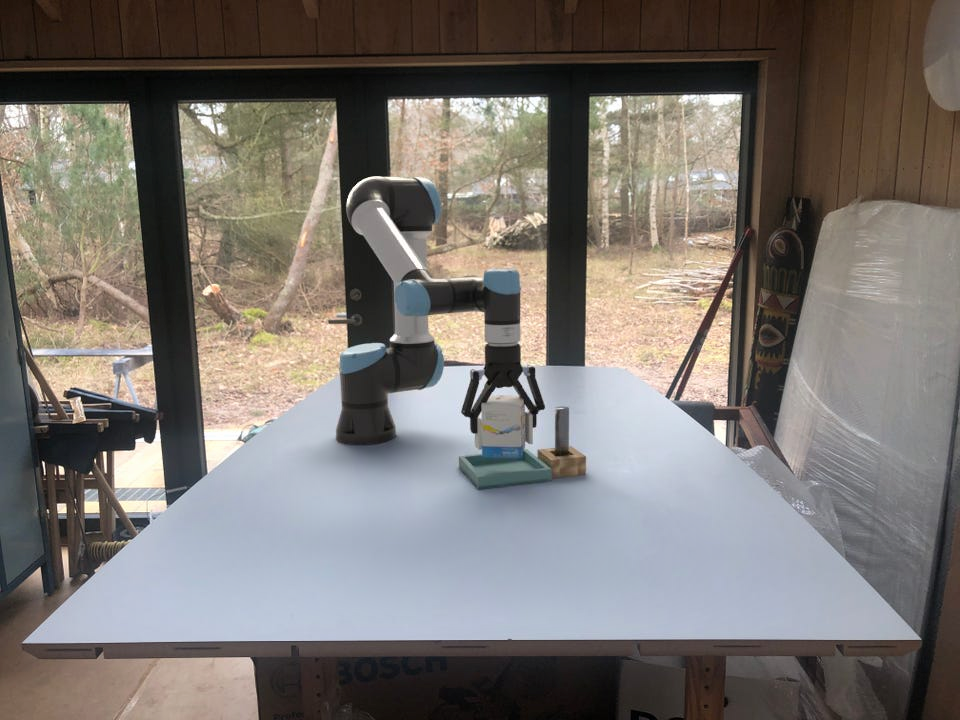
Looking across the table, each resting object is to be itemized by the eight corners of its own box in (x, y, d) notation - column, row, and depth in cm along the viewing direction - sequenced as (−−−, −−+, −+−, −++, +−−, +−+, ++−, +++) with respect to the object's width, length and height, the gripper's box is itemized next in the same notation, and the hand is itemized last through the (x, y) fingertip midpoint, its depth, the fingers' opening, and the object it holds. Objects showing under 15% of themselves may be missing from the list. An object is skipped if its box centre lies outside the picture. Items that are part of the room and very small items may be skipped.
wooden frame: (551, 478, 160) (551, 460, 160) (537, 466, 168) (537, 449, 167) (585, 474, 163) (586, 456, 162) (570, 463, 170) (571, 446, 170)
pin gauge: (558, 473, 164) (558, 410, 161) (552, 469, 166) (552, 407, 164) (570, 471, 164) (571, 409, 162) (565, 467, 167) (565, 406, 165)
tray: (478, 489, 154) (478, 477, 154) (459, 467, 169) (458, 456, 168) (551, 480, 159) (551, 469, 158) (526, 459, 173) (526, 448, 173)
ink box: (521, 459, 158) (520, 404, 156) (481, 457, 159) (480, 403, 157) (526, 447, 166) (525, 394, 164) (488, 445, 168) (486, 394, 166)
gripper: (453, 349, 152) (456, 455, 156) (561, 342, 158) (560, 444, 162) (444, 344, 159) (447, 445, 163) (547, 337, 165) (547, 435, 169)
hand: (503, 445), depth 163 cm, fingers closed on ink box, 11 cm apart
